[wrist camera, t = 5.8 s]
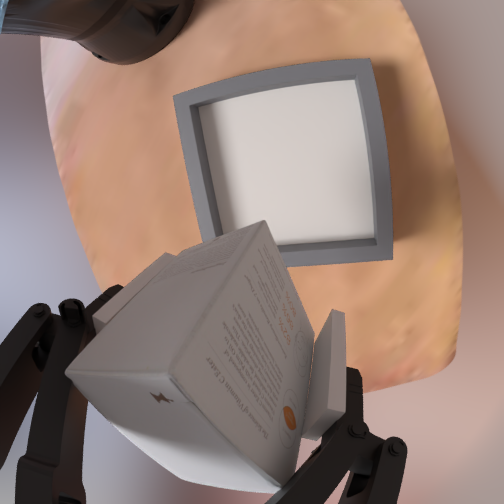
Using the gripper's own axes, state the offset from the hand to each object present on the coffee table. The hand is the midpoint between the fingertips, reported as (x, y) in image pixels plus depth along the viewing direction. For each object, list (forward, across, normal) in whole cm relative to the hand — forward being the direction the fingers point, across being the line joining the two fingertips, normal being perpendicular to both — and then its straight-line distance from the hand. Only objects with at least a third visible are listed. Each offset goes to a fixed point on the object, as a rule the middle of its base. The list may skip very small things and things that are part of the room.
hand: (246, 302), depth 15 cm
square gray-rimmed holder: (+15, -1, +6) cm, 16 cm away
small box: (+1, 0, 0) cm, 1 cm away
